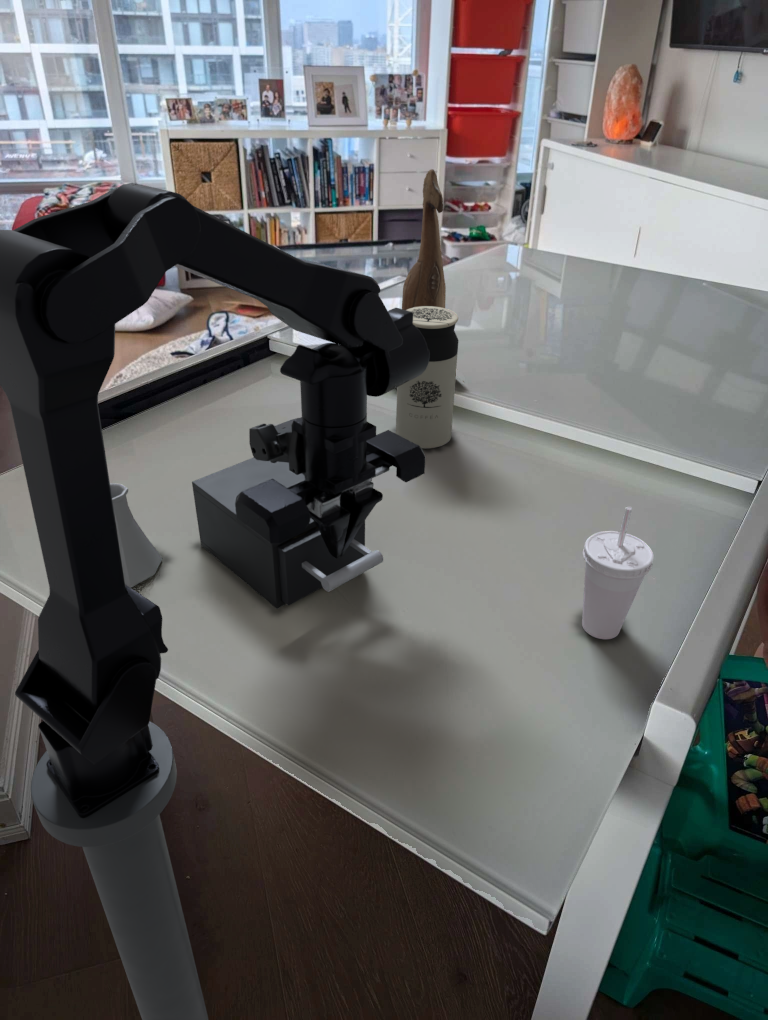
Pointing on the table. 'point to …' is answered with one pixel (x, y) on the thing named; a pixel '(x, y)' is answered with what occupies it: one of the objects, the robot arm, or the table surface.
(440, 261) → the bird sculpture
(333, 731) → the table surface
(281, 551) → the drawer
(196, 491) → the mini filing cabinet
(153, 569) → the flask
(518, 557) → the table surface
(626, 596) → the smoothie
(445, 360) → the travel mug
